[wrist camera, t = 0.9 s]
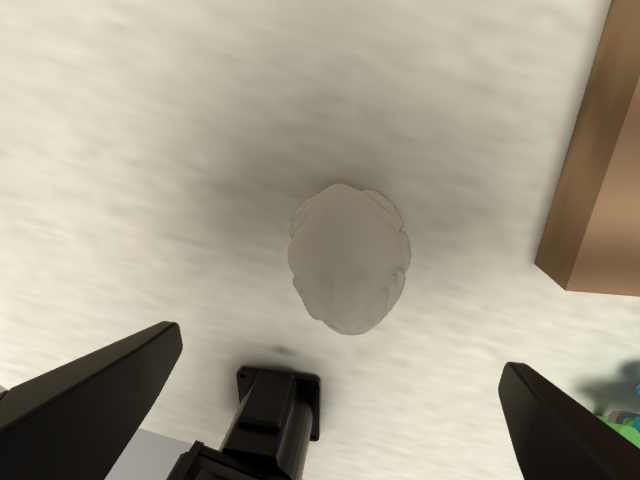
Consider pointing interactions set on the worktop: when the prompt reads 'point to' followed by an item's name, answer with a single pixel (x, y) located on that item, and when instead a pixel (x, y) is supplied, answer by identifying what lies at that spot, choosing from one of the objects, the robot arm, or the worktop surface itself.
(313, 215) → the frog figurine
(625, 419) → the gear
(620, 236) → the walnut block
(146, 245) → the worktop surface
